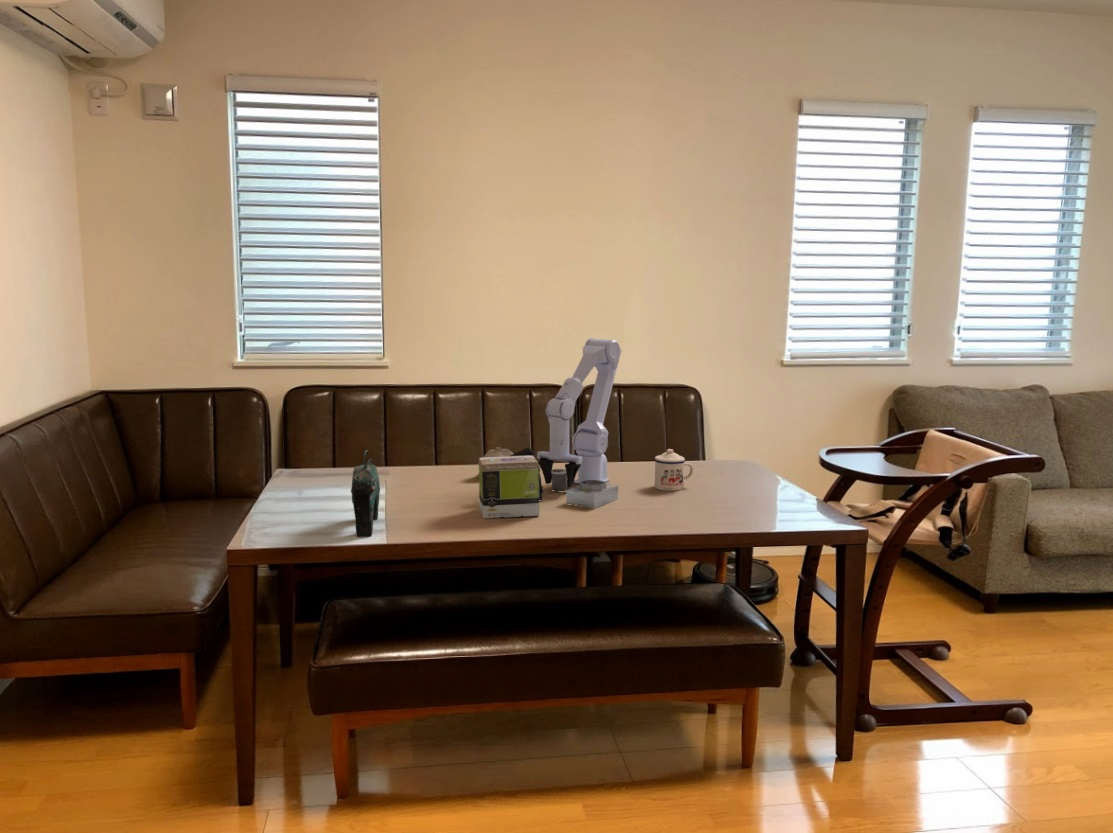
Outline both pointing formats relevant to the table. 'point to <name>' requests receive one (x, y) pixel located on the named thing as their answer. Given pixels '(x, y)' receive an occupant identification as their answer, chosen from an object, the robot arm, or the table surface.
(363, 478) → the ceramic cat
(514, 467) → the tea box
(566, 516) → the table surface
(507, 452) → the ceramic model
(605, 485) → the square base socket
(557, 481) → the cup
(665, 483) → the teacup with lid
